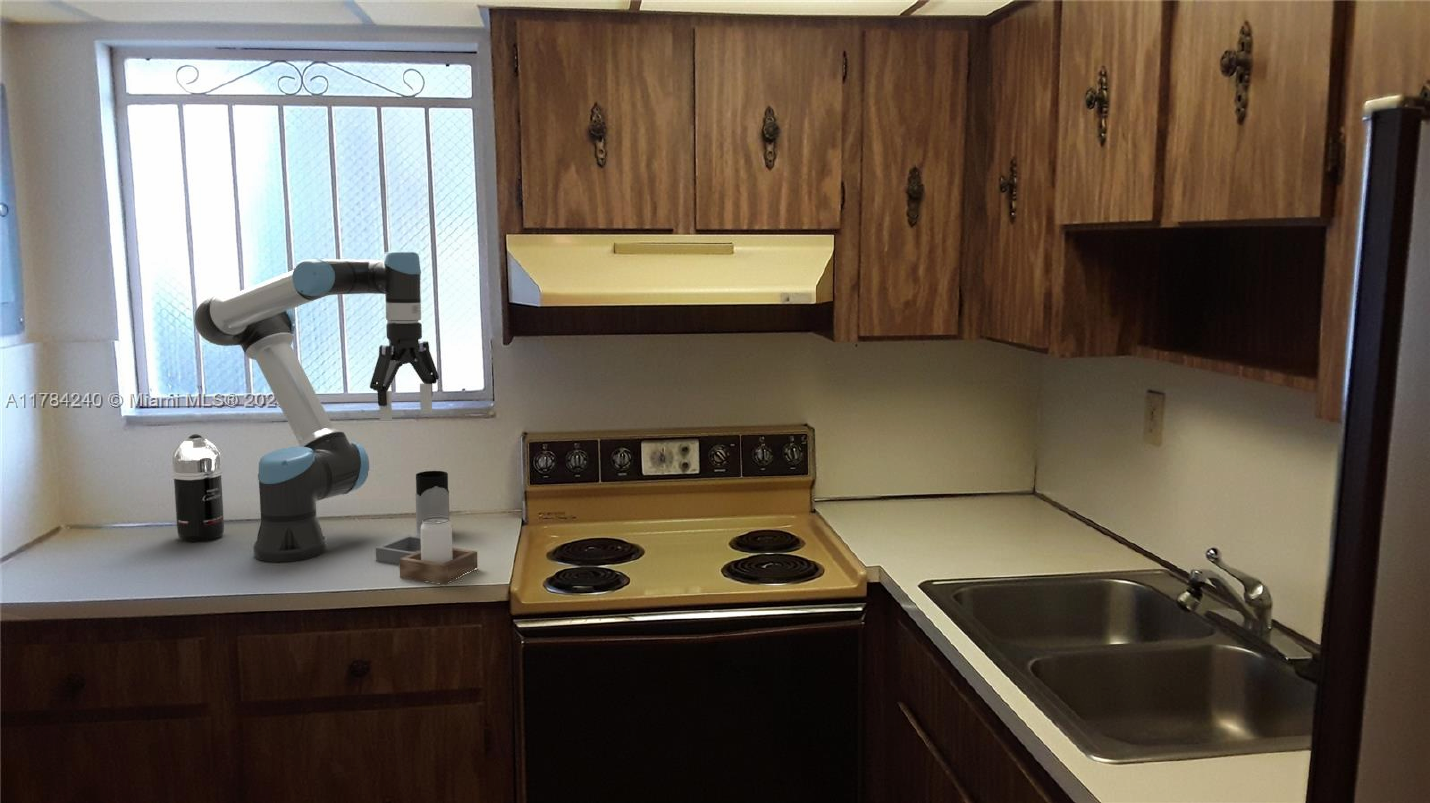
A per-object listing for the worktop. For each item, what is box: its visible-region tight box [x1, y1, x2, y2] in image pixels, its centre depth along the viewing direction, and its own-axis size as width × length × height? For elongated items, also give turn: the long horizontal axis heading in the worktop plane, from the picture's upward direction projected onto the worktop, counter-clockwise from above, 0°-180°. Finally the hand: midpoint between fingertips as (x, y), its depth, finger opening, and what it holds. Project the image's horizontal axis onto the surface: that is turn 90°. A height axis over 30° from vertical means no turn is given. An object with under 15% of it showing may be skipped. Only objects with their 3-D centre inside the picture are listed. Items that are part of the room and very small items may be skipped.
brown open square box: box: [398, 547, 479, 585], centre depth 212 cm, size 12×12×4 cm
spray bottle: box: [171, 433, 225, 543], centre depth 234 cm, size 10×10×25 cm
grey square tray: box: [375, 535, 421, 565], centre depth 223 cm, size 11×11×3 cm
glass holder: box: [414, 470, 451, 537], centre depth 243 cm, size 9×14×15 cm, turn 29°
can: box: [421, 516, 453, 564], centre depth 211 cm, size 6×6×12 cm
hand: (406, 416), depth 222 cm, fingers open, 13 cm apart
